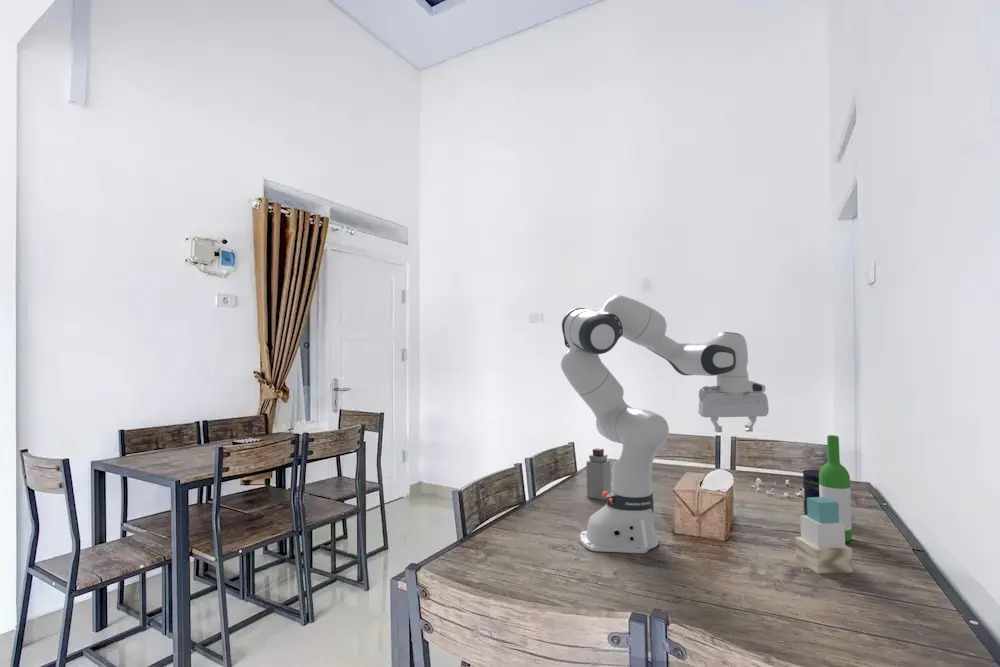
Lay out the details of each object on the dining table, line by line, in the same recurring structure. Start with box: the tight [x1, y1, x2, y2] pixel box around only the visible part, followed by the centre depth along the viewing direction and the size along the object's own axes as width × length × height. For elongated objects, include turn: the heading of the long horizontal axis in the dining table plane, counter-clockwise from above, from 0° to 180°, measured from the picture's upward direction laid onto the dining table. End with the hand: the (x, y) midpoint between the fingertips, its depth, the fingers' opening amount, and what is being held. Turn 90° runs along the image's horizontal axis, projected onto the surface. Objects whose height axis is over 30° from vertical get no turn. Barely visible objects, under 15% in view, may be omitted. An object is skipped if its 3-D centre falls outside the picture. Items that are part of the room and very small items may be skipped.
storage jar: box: [802, 469, 820, 515], centre depth 170 cm, size 10×10×15 cm
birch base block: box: [794, 536, 854, 574], centre depth 134 cm, size 9×9×6 cm
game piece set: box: [751, 477, 804, 497], centre depth 204 cm, size 19×20×4 cm
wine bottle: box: [819, 434, 853, 543], centre depth 153 cm, size 8×8×30 cm
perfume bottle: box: [586, 447, 612, 501], centre depth 200 cm, size 7×7×18 cm
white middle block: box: [799, 515, 846, 548], centre depth 134 cm, size 7×7×6 cm
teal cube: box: [807, 497, 839, 523], centre depth 135 cm, size 5×5×5 cm
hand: (733, 431), depth 157 cm, fingers open, 8 cm apart
